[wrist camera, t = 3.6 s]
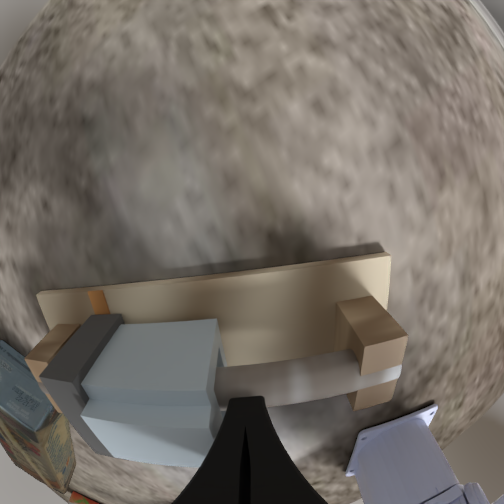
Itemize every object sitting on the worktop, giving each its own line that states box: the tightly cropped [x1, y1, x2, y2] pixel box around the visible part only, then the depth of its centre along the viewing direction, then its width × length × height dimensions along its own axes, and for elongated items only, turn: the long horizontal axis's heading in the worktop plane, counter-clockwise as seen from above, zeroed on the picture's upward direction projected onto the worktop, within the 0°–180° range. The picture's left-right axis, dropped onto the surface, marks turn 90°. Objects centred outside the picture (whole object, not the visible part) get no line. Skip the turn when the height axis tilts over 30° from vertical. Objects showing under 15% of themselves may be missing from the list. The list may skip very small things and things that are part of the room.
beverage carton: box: [0, 340, 76, 494], centre depth 14 cm, size 8×19×7 cm, turn 156°
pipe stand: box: [24, 252, 408, 413], centre depth 12 cm, size 20×8×4 cm, turn 97°
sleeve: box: [80, 318, 228, 467], centre depth 10 cm, size 5×5×6 cm
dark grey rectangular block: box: [39, 314, 126, 460], centre depth 11 cm, size 2×5×5 cm, turn 7°
